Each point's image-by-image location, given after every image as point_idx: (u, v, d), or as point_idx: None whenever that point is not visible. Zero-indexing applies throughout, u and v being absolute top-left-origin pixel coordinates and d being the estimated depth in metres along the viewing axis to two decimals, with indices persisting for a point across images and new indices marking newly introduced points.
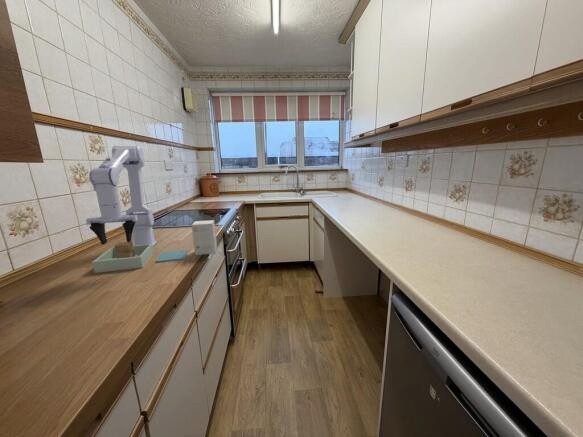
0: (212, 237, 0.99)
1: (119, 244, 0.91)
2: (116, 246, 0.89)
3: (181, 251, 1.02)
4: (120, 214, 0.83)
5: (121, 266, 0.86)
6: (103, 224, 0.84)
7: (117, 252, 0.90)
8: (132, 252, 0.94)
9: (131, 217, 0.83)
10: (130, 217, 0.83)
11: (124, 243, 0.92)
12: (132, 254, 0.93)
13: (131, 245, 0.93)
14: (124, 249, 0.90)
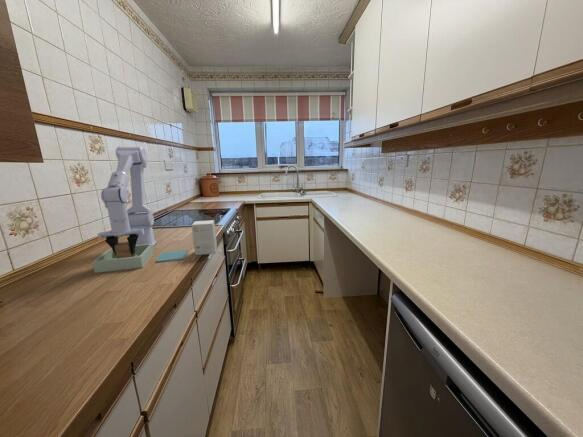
0: (212, 237, 0.99)
1: (119, 244, 0.91)
2: (116, 246, 0.89)
3: (181, 251, 1.02)
4: (128, 228, 0.91)
5: (121, 266, 0.86)
6: (117, 237, 0.92)
7: (117, 252, 0.90)
8: None
9: (138, 231, 0.91)
10: (138, 231, 0.91)
11: (124, 243, 0.92)
12: (132, 254, 0.93)
13: None
14: (124, 249, 0.90)
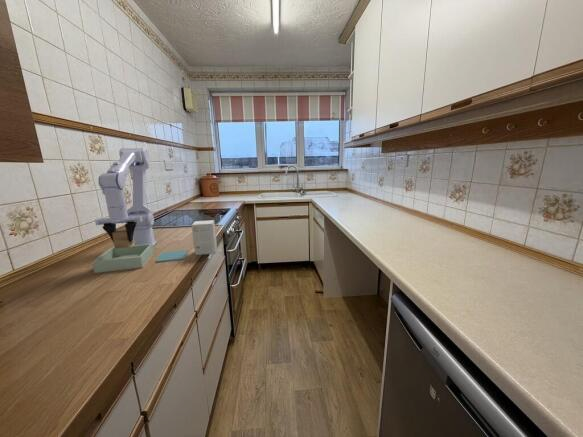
0: (212, 237, 0.99)
1: (117, 231, 0.89)
2: (114, 233, 0.88)
3: (181, 251, 1.02)
4: (126, 215, 0.90)
5: (121, 266, 0.86)
6: (114, 224, 0.91)
7: (115, 239, 0.89)
8: None
9: (136, 218, 0.90)
10: (135, 218, 0.90)
11: (122, 230, 0.90)
12: (130, 242, 0.92)
13: None
14: (122, 236, 0.89)
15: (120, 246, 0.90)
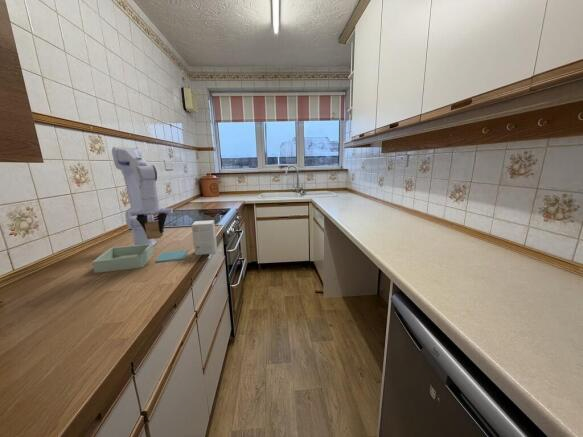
0: (212, 237, 0.99)
1: (149, 223, 0.92)
2: (146, 224, 0.91)
3: (181, 251, 1.02)
4: (158, 207, 0.92)
5: (121, 266, 0.86)
6: (146, 216, 0.94)
7: (147, 230, 0.91)
8: None
9: (168, 210, 0.93)
10: (167, 210, 0.93)
11: (153, 222, 0.93)
12: (161, 233, 0.95)
13: None
14: (154, 227, 0.92)
15: (152, 237, 0.92)
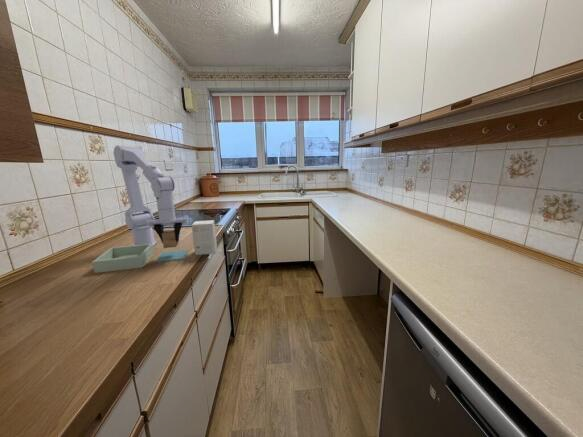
0: (212, 237, 0.99)
1: (165, 232, 0.95)
2: (163, 234, 0.94)
3: (181, 251, 1.02)
4: (174, 217, 0.95)
5: (121, 266, 0.86)
6: (162, 225, 0.96)
7: (164, 239, 0.94)
8: None
9: (184, 219, 0.95)
10: (183, 219, 0.95)
11: (170, 231, 0.96)
12: (176, 242, 0.98)
13: None
14: (170, 237, 0.94)
15: (168, 246, 0.95)
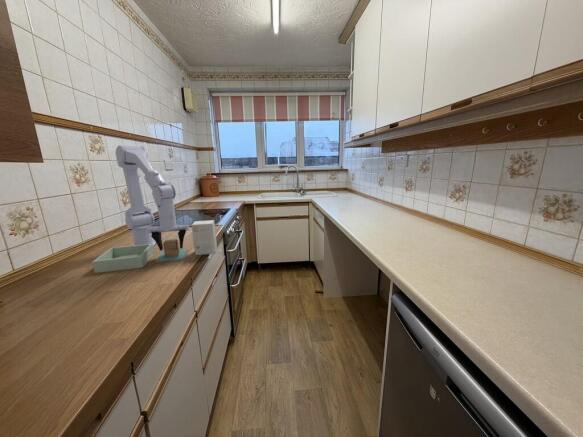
0: (212, 237, 0.99)
1: (167, 242, 0.96)
2: (164, 243, 0.94)
3: (181, 251, 1.02)
4: (175, 224, 0.96)
5: (121, 266, 0.86)
6: (160, 233, 0.97)
7: (165, 249, 0.95)
8: (178, 249, 0.99)
9: (184, 227, 0.96)
10: (184, 227, 0.96)
11: (171, 241, 0.97)
12: (178, 251, 0.98)
13: (177, 243, 0.98)
14: (172, 246, 0.95)
15: (170, 255, 0.96)
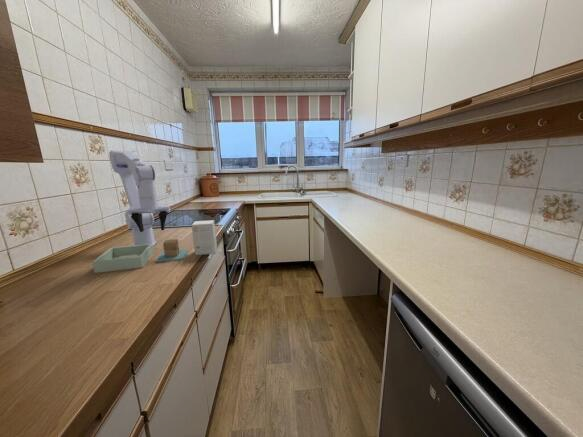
0: (212, 237, 0.99)
1: (167, 242, 0.96)
2: (164, 243, 0.94)
3: (181, 251, 1.02)
4: (156, 206, 0.96)
5: (121, 266, 0.86)
6: (141, 214, 0.97)
7: (165, 249, 0.95)
8: (178, 249, 0.99)
9: (165, 208, 0.97)
10: (164, 208, 0.96)
11: (171, 241, 0.97)
12: (178, 251, 0.98)
13: (177, 243, 0.98)
14: (172, 246, 0.95)
15: (170, 255, 0.96)
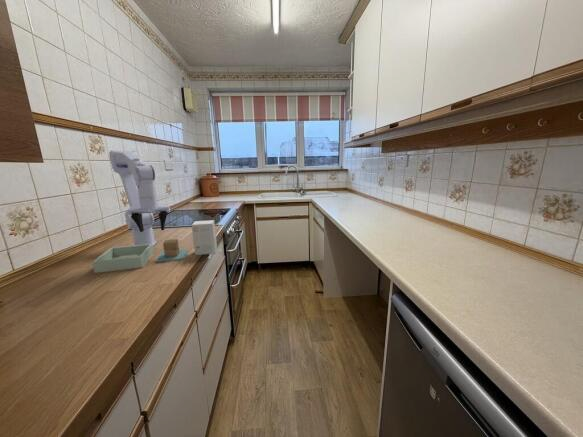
0: (212, 237, 0.99)
1: (167, 242, 0.96)
2: (164, 243, 0.94)
3: (181, 251, 1.02)
4: (156, 206, 0.96)
5: (121, 266, 0.86)
6: (141, 214, 0.97)
7: (165, 249, 0.95)
8: (178, 249, 0.99)
9: (165, 208, 0.97)
10: (164, 208, 0.96)
11: (171, 241, 0.97)
12: (178, 251, 0.98)
13: (177, 243, 0.98)
14: (172, 246, 0.95)
15: (170, 255, 0.96)
